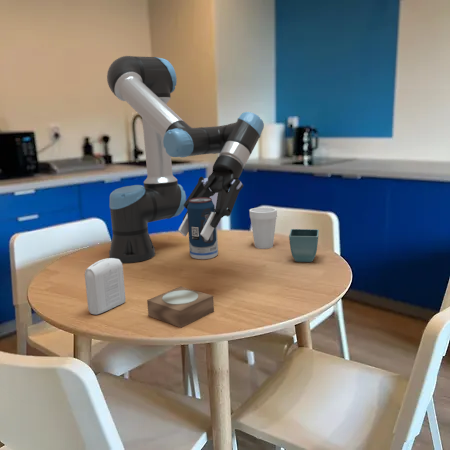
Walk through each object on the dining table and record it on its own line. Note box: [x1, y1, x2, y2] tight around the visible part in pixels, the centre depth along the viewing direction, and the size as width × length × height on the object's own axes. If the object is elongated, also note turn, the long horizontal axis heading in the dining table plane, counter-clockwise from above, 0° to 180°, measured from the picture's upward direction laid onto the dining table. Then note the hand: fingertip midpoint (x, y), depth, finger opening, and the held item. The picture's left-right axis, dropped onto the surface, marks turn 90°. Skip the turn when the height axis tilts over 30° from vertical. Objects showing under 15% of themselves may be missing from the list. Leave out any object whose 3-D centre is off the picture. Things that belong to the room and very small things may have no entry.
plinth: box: [146, 286, 215, 328], centre depth 114 cm, size 11×11×4 cm
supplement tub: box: [188, 212, 219, 260], centre depth 159 cm, size 10×10×15 cm
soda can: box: [186, 197, 216, 248], centre depth 123 cm, size 7×7×12 cm
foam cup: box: [249, 206, 278, 250], centre depth 167 cm, size 10×9×13 cm
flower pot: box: [288, 228, 320, 263], centre depth 150 cm, size 9×9×9 cm
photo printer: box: [84, 257, 126, 315], centre depth 119 cm, size 10×4×12 cm, turn 147°
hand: (193, 235), depth 120 cm, fingers closed on soda can, 7 cm apart
